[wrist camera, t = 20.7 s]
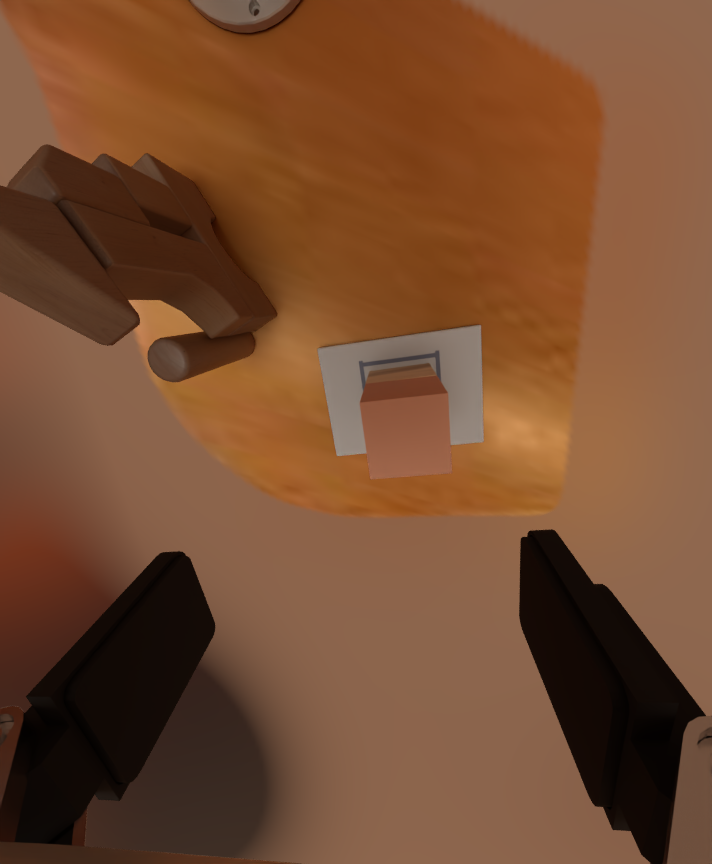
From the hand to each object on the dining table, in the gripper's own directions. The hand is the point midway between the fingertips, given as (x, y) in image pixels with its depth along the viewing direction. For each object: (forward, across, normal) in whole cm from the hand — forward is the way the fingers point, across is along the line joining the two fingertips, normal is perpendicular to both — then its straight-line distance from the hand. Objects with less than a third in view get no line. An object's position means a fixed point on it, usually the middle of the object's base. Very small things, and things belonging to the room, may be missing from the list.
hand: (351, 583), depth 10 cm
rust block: (+21, -2, +2) cm, 21 cm away
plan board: (+28, -2, +2) cm, 28 cm away
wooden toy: (+29, +15, -12) cm, 34 cm away
